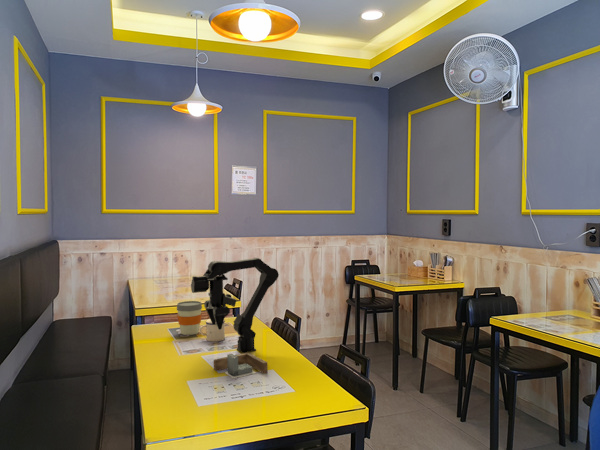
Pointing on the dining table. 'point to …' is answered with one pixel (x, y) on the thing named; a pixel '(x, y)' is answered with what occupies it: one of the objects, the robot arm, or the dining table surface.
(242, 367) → the bracket
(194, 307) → the reusable coffee cup
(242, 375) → the beige flat tile
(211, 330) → the teacup with lid
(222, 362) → the brown l-shaped piece
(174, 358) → the dining table surface
